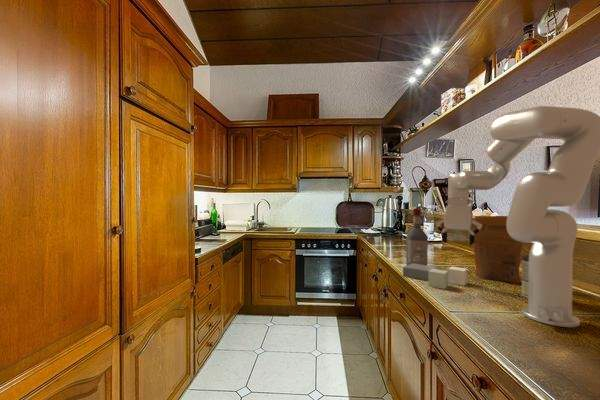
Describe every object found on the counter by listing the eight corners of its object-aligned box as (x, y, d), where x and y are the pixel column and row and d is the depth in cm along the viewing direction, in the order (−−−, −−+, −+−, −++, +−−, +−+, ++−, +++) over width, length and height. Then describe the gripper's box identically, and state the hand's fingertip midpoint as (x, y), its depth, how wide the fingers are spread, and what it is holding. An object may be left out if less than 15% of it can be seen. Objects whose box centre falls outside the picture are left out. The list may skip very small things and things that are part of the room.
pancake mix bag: (524, 285, 114) (525, 216, 114) (470, 277, 126) (470, 215, 126) (525, 282, 119) (525, 216, 119) (472, 274, 131) (473, 214, 131)
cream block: (464, 286, 113) (464, 271, 113) (448, 283, 117) (448, 268, 117) (467, 282, 117) (467, 268, 118) (451, 280, 121) (451, 266, 121)
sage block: (444, 289, 108) (444, 273, 109) (428, 286, 112) (428, 271, 112) (448, 285, 113) (448, 270, 113) (432, 283, 117) (432, 268, 117)
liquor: (428, 270, 139) (428, 209, 139) (409, 269, 141) (409, 209, 141) (423, 265, 148) (424, 209, 148) (405, 265, 150) (405, 208, 150)
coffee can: (545, 293, 104) (545, 255, 104) (567, 303, 94) (567, 261, 94) (514, 292, 106) (515, 254, 106) (533, 301, 95) (533, 260, 95)
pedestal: (431, 281, 119) (431, 271, 119) (403, 276, 127) (403, 267, 127) (438, 275, 128) (438, 266, 128) (411, 271, 136) (412, 262, 136)
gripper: (484, 202, 115) (483, 244, 115) (438, 202, 126) (438, 240, 126) (481, 202, 109) (480, 246, 109) (433, 202, 120) (433, 242, 120)
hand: (457, 243), depth 117 cm, fingers open, 9 cm apart
